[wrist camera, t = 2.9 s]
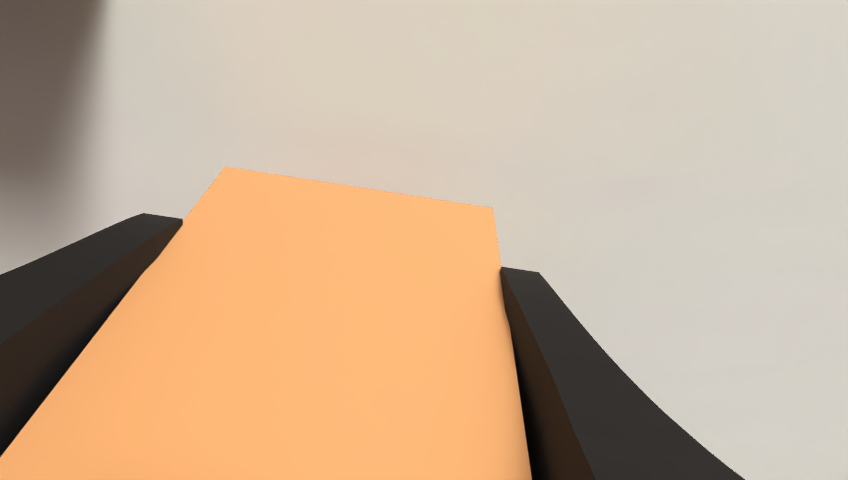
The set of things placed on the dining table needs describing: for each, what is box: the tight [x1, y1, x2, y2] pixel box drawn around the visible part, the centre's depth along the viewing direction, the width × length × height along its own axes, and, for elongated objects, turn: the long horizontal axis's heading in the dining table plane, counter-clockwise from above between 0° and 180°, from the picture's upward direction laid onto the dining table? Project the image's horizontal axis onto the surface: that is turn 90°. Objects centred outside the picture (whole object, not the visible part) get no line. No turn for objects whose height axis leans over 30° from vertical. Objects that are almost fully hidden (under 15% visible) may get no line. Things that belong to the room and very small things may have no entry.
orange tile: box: [0, 167, 532, 480], centre depth 9 cm, size 2×5×8 cm, turn 81°
